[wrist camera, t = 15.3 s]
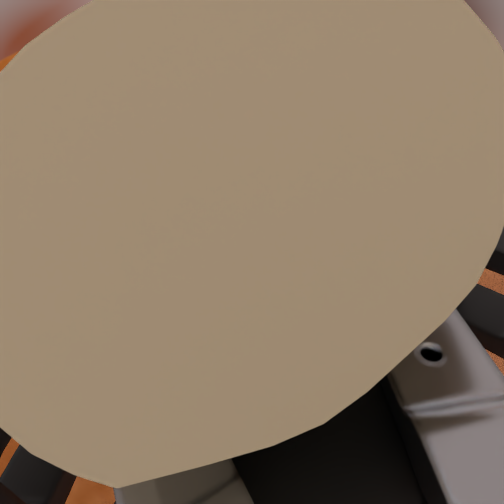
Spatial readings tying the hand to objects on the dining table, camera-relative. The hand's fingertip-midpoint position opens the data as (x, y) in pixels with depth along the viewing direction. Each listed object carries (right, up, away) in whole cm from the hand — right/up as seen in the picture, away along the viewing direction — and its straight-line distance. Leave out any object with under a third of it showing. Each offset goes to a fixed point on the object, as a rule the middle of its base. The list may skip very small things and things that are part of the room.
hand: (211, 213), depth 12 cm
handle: (0, -3, +7) cm, 7 cm away
